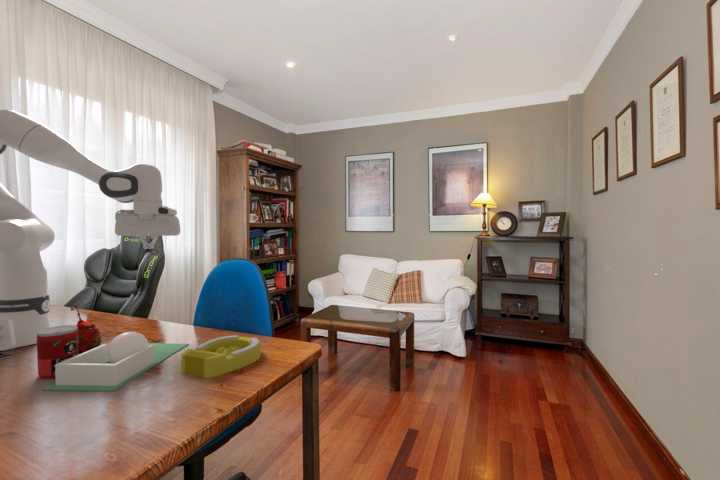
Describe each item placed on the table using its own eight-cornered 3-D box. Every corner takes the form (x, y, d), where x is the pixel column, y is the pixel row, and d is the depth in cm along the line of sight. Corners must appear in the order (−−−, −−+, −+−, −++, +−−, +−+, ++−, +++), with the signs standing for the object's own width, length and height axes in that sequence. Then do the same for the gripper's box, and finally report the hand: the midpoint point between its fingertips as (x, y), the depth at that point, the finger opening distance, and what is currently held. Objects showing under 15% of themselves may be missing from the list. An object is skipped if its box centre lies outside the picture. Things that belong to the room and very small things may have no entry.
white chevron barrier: (103, 362, 92) (103, 344, 92) (154, 363, 91) (154, 344, 91) (55, 386, 78) (55, 364, 78) (115, 387, 77) (115, 365, 77)
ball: (129, 353, 95) (104, 375, 87) (119, 325, 92) (92, 345, 84) (159, 352, 94) (137, 375, 86) (150, 324, 91) (127, 345, 83)
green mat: (138, 344, 107) (138, 343, 107) (188, 344, 106) (188, 343, 106) (43, 390, 76) (43, 388, 76) (113, 391, 75) (113, 390, 75)
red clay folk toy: (92, 354, 97) (91, 302, 97) (63, 357, 96) (62, 304, 95) (105, 346, 105) (104, 297, 104) (78, 348, 103) (77, 298, 103)
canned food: (55, 380, 81) (54, 334, 80) (28, 378, 82) (27, 332, 82) (87, 368, 88) (86, 325, 88) (62, 365, 90) (61, 324, 89)
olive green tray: (169, 372, 86) (169, 352, 86) (227, 346, 106) (227, 330, 106) (221, 382, 81) (221, 361, 81) (272, 352, 100) (272, 335, 100)
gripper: (110, 208, 116) (111, 249, 117) (176, 209, 121) (176, 248, 121) (119, 210, 123) (120, 248, 123) (181, 210, 127) (181, 247, 127)
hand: (148, 248), depth 122 cm, fingers closed
